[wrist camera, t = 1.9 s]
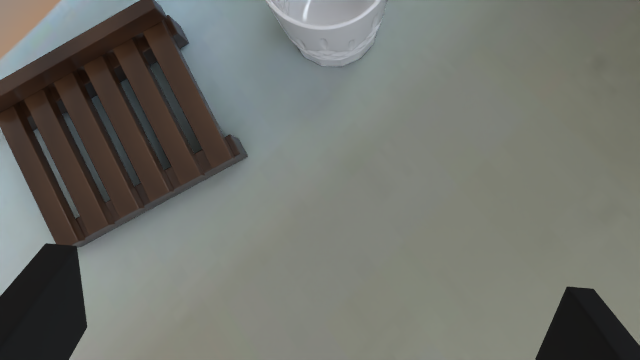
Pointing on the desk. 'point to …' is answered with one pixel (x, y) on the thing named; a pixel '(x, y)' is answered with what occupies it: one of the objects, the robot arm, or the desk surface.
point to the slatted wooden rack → (104, 80)
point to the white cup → (330, 27)
